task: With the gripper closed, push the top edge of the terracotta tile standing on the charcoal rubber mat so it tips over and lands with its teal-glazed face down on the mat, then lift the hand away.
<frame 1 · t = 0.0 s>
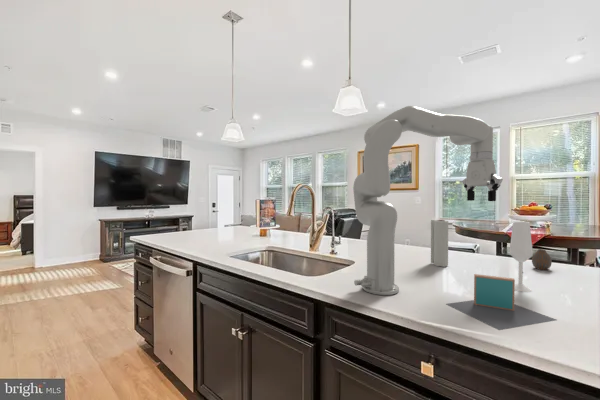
hand: (480, 200, 118), 31 cm above the worktop, fingers open, 9 cm apart
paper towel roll: (440, 265, 141), on the worktop
champagne flute: (520, 289, 106), on the worktop
tile: (493, 306, 89), resting on mat
mat: (497, 313, 86), on the worktop
patterned egg: (541, 269, 134), on the worktop
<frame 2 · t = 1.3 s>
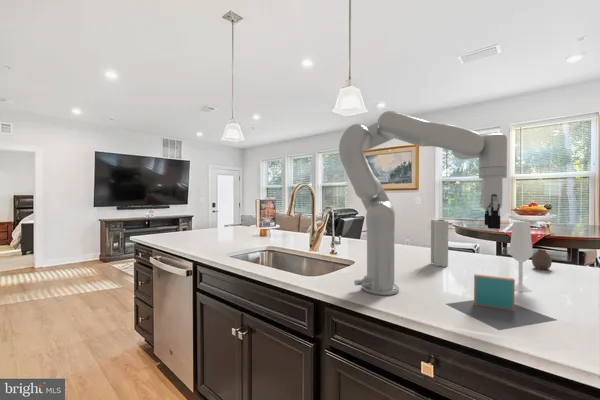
hand: (491, 226, 96), 24 cm above the worktop, fingers open, 9 cm apart
nothing on the worktop moved.
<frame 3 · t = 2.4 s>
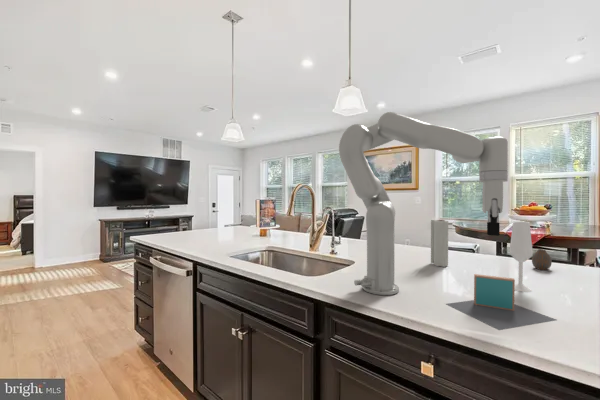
hand: (493, 234, 95), 21 cm above the worktop, fingers closed
nothing on the worktop moved.
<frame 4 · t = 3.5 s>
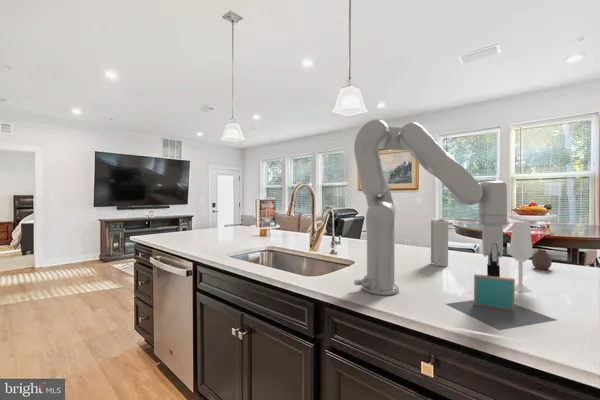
hand: (493, 277, 95), 8 cm above the worktop, fingers closed
nothing on the worktop moved.
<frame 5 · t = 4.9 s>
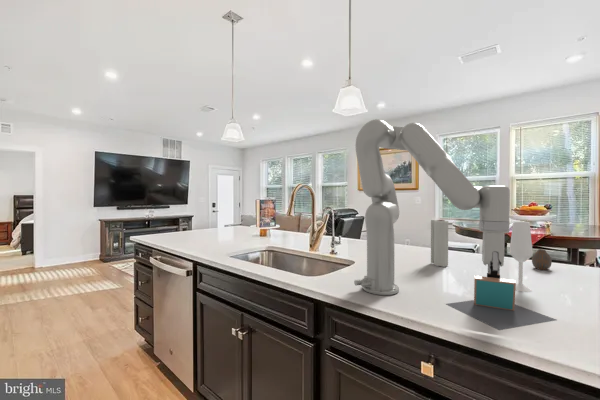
hand: (493, 287, 90), 6 cm above the worktop, fingers closed
tile: (493, 306, 89), point 1 cm above the worktop, tilted 15°, touching mat
everything else where it was.
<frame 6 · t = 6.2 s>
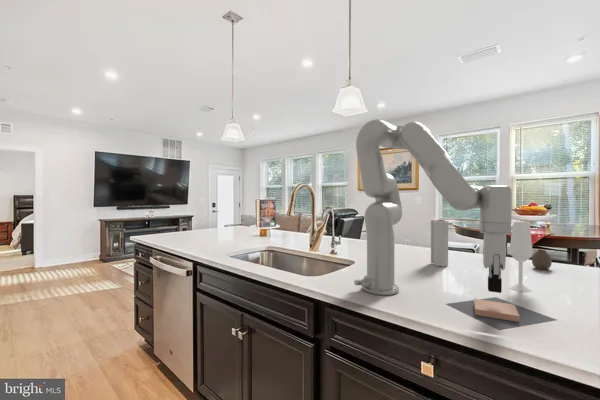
hand: (494, 291, 86), 6 cm above the worktop, fingers closed
tile: (493, 304, 88), point 2 cm above the worktop, tilted 90°, touching mat
everything else where it was.
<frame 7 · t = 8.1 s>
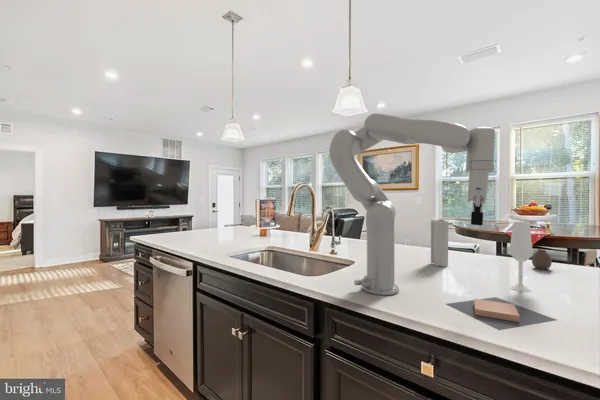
hand: (476, 224, 96), 24 cm above the worktop, fingers closed
nothing on the worktop moved.
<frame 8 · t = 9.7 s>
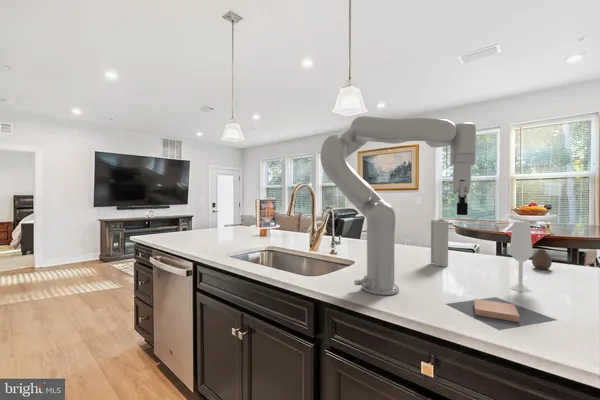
hand: (462, 214, 101), 27 cm above the worktop, fingers closed
nothing on the worktop moved.
at the end: tile tilted 90°; tile inside the target area on the mat (2.6 cm from its centre), point 1.6 cm above the mat's base; the gripper is holding nothing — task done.
